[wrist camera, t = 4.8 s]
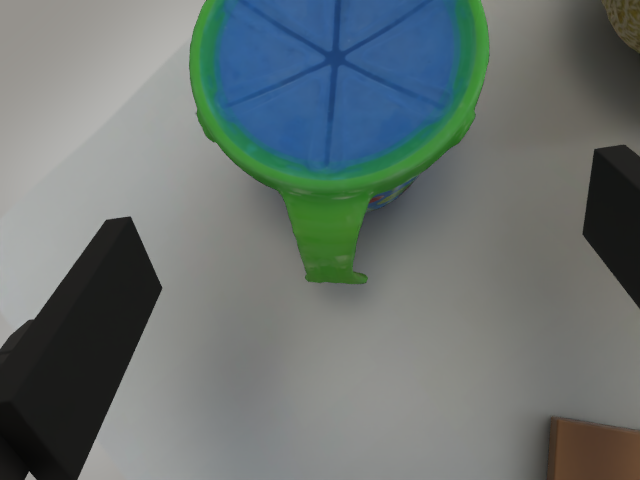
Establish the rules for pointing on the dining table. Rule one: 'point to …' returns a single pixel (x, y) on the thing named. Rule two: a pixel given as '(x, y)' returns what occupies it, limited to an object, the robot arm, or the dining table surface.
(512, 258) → the dining table surface
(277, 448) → the dining table surface
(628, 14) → the cantaloupe
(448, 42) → the snack cup
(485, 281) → the dining table surface
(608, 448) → the wooden board
